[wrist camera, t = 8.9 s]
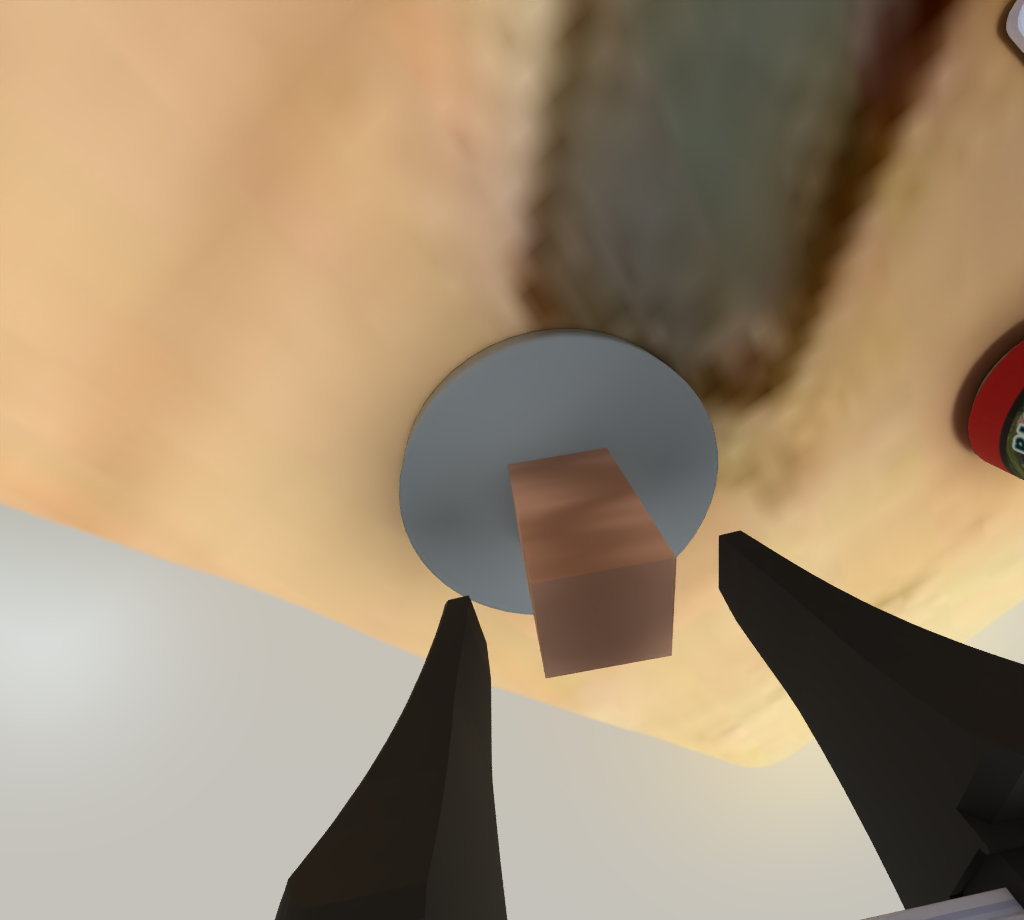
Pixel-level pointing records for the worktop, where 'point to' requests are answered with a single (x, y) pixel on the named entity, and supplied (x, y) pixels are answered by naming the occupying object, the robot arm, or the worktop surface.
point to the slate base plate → (547, 450)
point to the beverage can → (1001, 414)
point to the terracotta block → (592, 564)
